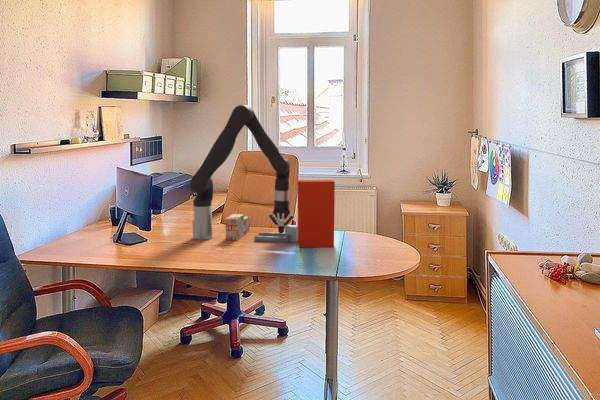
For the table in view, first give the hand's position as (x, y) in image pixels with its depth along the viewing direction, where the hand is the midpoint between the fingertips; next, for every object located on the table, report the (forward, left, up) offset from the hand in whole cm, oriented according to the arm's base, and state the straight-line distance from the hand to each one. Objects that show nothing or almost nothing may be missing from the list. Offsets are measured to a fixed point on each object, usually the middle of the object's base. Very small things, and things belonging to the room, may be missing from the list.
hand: (281, 233), depth 245 cm
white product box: (-25, +6, -5) cm, 26 cm away
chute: (-4, 0, -5) cm, 6 cm away
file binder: (+18, -4, -5) cm, 19 cm away
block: (+5, 0, -4) cm, 6 cm away
